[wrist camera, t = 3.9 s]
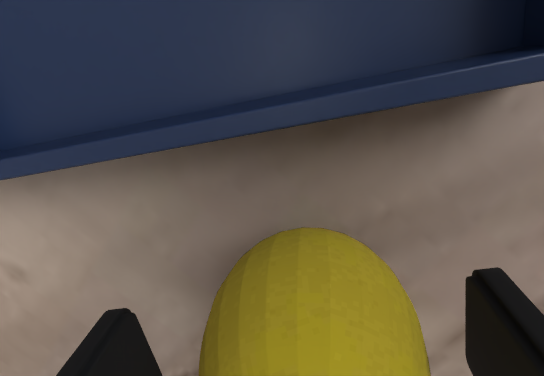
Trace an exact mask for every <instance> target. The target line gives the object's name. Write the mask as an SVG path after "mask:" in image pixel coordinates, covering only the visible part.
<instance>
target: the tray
mask: <svg viewBox="0 0 544 376" xmlns="http://www.w3.org/2000/svg"><path fill="white" fill-rule="evenodd" d="M540 81H544V0H0V180H6V179H11V178H16V177H22V176H27V175H33V174H38V173H44V172H49V171H55V170H60V169H65V168H71V167H76V166H82V165H87V164H93V163H98V162H104V161H109V160H115V159H120V158H125V157H131V156H136V155H142V154H147V153H153V152H158V151H164V150H169V149H174V148H180V147H185V146H191V145H196V144H202V143H207V142H213V141H218V140H224V139H229V138H234V137H240V136H245V135H251V134H256V133H262V132H267V131H273V130H278V129H284V128H289V127H294V126H300V125H305V124H311V123H316V122H322V121H327V120H333V119H338V118H343V117H349V116H354V115H360V114H365V113H371V112H376V111H382V110H387V109H393V108H398V107H403V106H409V105H414V104H420V103H425V102H431V101H436V100H442V99H447V98H452V97H458V96H463V95H469V94H474V93H480V92H485V91H491V90H496V89H502V88H507V87H512V86H518V85H523V84H529V83H534V82H540Z"/></svg>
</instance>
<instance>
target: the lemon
mask: <svg viewBox="0 0 544 376" xmlns="http://www.w3.org/2000/svg"><path fill="white" fill-rule="evenodd" d="M199 376H431V374H430V368H429V361H428V356H427V352H426V347H425V343H424V339H423V335H422V331H421V326H420V323H419V320H418V317H417V314H416V311H415V309H414V307H413V304H412V302H411V300H410V299H409V297H408V295H407V293H406V292H405V290H404V289H403V287H402V285H401V284H400V282H399V281H398V279H397V277H396V276H395V274H394V273H393V271H392V270H391V269H390V267H389V266H388V265H387V264H386V263H385V262H384V261H383V260H382V259H381V258H380V257H378V256H377V255H376V254H375V253H374V252H373V251H372V250H371V249H369V248H368V247H367V246H366V245H364V244H363V243H361V242H359V241H357V240H355V239H353V238H351V237H349V236H347V235H346V234H343V233H339V232H336V231H332V230H328V229H324V228H297V229H292V230H287V231H282V232H279V233H277V234H275V235H273V236H270V237H268V238H266V239H264V240H262V241H261V242H259V243H258V244H257V245H255V246H254V247H253V248H252V249H250V250H249V251H248V252H247V253H245V254H244V255H243V256H242V257H241V258H240V259H239V260H238V262H237V263H236V265H235V266H234V267H233V269H232V270H231V272H230V273H229V275H228V276H227V277H226V279H225V280H224V282H223V283H222V285H221V287H220V289H219V290H218V292H217V295H216V297H215V299H214V302H213V305H212V308H211V311H210V315H209V318H208V321H207V325H206V328H205V331H204V336H203V341H202V346H201V353H200V362H199Z"/></svg>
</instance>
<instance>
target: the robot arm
mask: <svg viewBox="0 0 544 376" xmlns="http://www.w3.org/2000/svg"><path fill="white" fill-rule="evenodd" d="M466 359H467V363H468V365H469V368H470V370H471V372H472V374H473V376H544V315H543V314H542V313H541V312H540V311H539V310H538V309H537V307H536V306H535V305H534V304H533V303H532V302H531V301H530V300H529V299H528V298H527V296H526V295H525V294H524V293H523V292H522V291H521V290H520V289H519V288H518V287H517V285H516V284H515V283H514V282H513V281H512V280H511V279H510V278H509V277H508V275H507V274H506V273H505V272H504V271H503V270H502V269H501V268H489V269H480V270H474V271H473V273H472V276H470V277H467V278H466ZM56 376H162V373H161V371H160V369H159V367H158V364H157V362H156V360H155V357H154V355H153V353H152V351H151V348H150V346H149V344H148V342H147V339H146V337H145V335H144V333H143V330H142V328H141V326H140V324H139V321H138V319H137V317H136V315H135V314H134V313H131V311H130V310H129V309H127V308H122V309H113V310H108V311H106V312H105V313H104V314H103V315H102V316H101V318H100V319H99V320H98V322H97V323H96V324H95V326H94V327H93V328H92V329H91V331H90V332H89V333H88V335H87V336H86V337H85V339H84V340H83V341H82V342H81V344H80V345H79V346H78V348H77V349H76V350H75V352H74V353H73V354H72V356H71V357H70V358H69V359H68V361H67V362H66V363H65V365H64V366H63V367H62V369H61V370H60V371H59V372H58V374H57V375H56Z"/></svg>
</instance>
